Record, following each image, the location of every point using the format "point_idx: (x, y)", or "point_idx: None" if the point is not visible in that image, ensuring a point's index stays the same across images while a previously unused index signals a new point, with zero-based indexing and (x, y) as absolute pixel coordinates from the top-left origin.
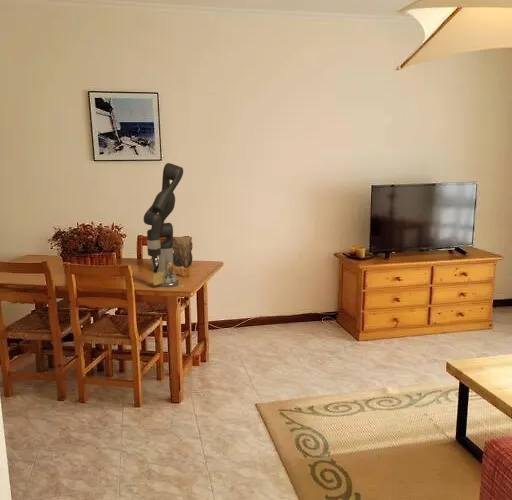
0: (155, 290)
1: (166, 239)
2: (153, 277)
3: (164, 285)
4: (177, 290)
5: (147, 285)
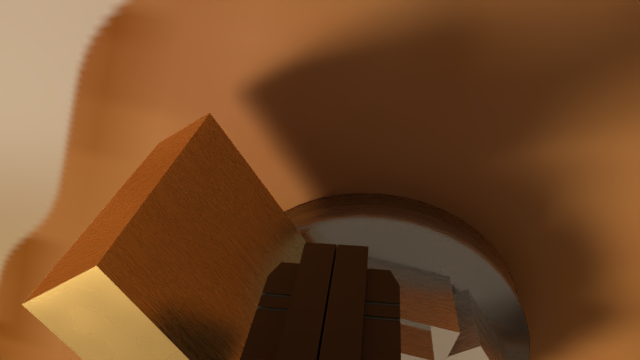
0: (99, 89)
1: None
2: (144, 194)
3: None
4: None
5: (478, 20)
